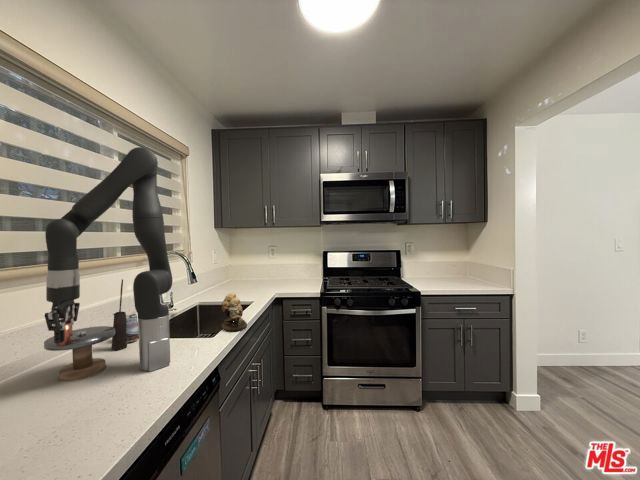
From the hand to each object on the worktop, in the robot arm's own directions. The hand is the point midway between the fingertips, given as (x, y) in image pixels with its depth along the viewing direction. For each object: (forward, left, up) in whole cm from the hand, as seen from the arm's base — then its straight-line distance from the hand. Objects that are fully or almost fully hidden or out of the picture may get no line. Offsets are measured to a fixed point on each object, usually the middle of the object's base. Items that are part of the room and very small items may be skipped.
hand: (63, 339), depth 85 cm
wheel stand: (+6, -5, -14) cm, 16 cm away
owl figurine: (+8, -62, -14) cm, 64 cm away
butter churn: (+20, -17, -14) cm, 30 cm away
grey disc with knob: (+6, -5, -3) cm, 8 cm away
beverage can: (+26, -23, -14) cm, 38 cm away
